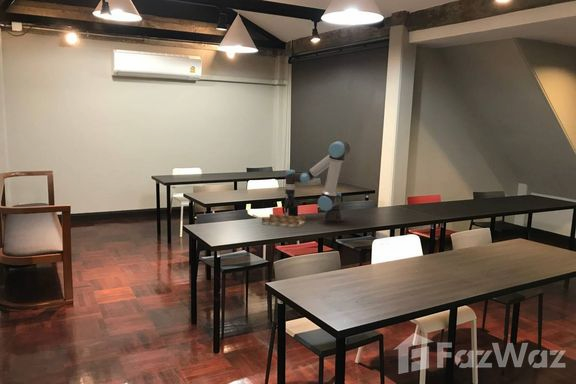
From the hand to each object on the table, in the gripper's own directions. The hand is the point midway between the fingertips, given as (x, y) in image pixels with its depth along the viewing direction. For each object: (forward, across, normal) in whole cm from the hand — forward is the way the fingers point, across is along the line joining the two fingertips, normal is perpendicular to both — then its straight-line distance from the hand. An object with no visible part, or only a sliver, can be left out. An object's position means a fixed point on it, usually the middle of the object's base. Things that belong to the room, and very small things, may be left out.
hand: (289, 214), depth 380 cm
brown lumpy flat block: (+4, +18, +2) cm, 18 cm away
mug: (+4, 0, 0) cm, 4 cm away
